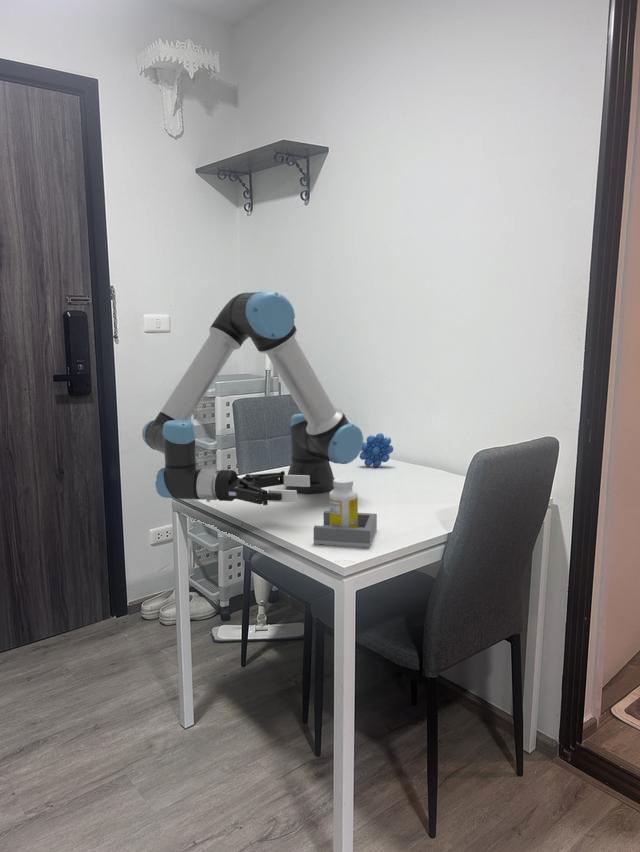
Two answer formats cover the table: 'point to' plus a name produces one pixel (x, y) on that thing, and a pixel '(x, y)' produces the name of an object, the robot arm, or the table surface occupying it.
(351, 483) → the supplement bottle
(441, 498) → the table surface
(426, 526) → the table surface
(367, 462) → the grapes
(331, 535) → the gray open-sided tray
